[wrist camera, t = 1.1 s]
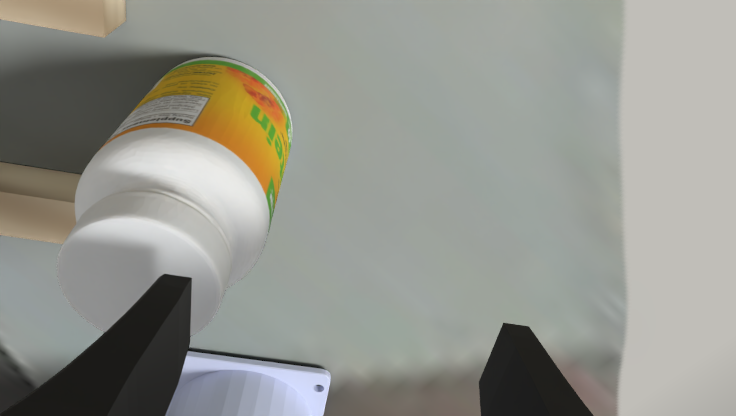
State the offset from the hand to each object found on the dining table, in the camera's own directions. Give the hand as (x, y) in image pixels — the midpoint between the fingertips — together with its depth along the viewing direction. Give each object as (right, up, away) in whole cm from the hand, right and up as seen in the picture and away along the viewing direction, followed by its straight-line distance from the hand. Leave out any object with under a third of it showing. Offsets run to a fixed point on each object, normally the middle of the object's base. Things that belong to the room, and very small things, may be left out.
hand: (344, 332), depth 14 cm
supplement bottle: (-5, +6, +9) cm, 12 cm away
